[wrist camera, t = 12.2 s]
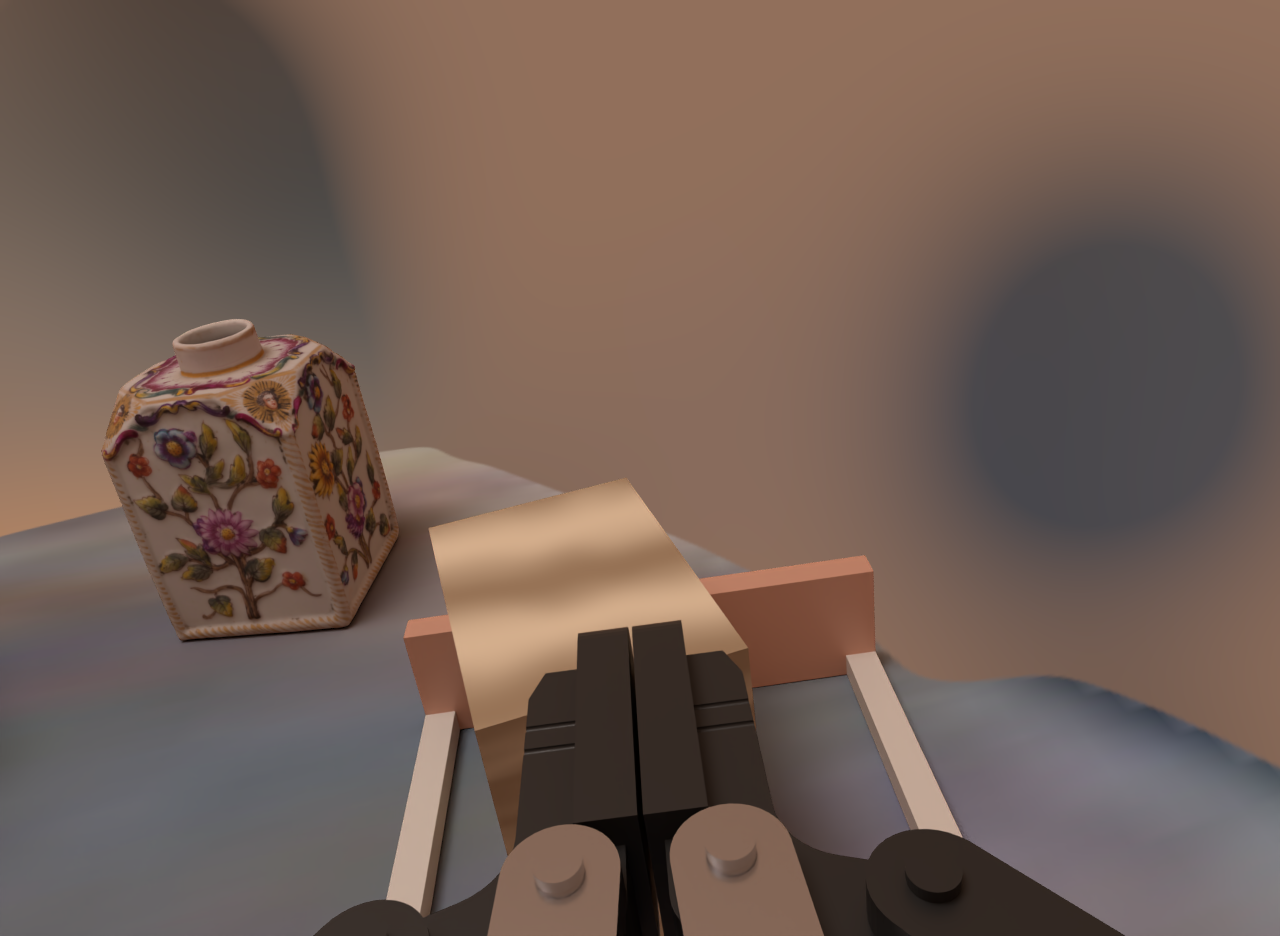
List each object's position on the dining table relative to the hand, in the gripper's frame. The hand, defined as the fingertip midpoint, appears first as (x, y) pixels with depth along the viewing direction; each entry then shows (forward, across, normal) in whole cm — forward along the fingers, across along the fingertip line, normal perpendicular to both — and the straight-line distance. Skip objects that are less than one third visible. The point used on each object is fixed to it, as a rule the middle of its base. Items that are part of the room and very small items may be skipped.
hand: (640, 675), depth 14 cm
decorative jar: (+44, -24, -24) cm, 56 cm away
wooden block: (+20, -3, -23) cm, 31 cm away
